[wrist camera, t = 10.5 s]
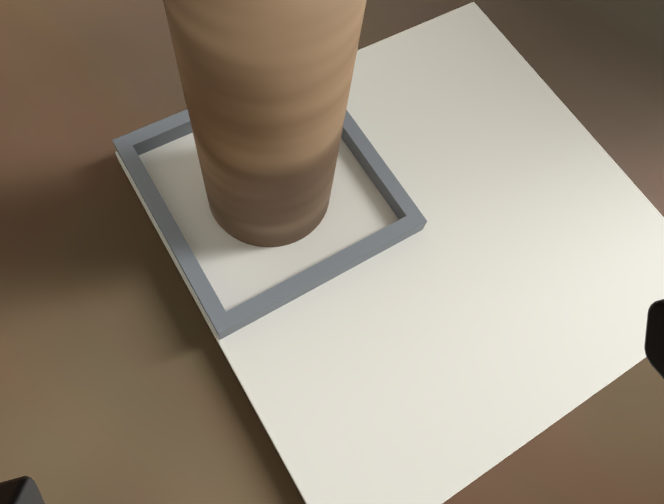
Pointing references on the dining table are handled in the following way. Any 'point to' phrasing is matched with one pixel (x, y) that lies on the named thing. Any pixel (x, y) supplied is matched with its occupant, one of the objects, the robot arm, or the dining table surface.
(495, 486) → the dining table surface
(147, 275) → the dining table surface
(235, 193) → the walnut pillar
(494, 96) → the build plate
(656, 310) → the robot arm
